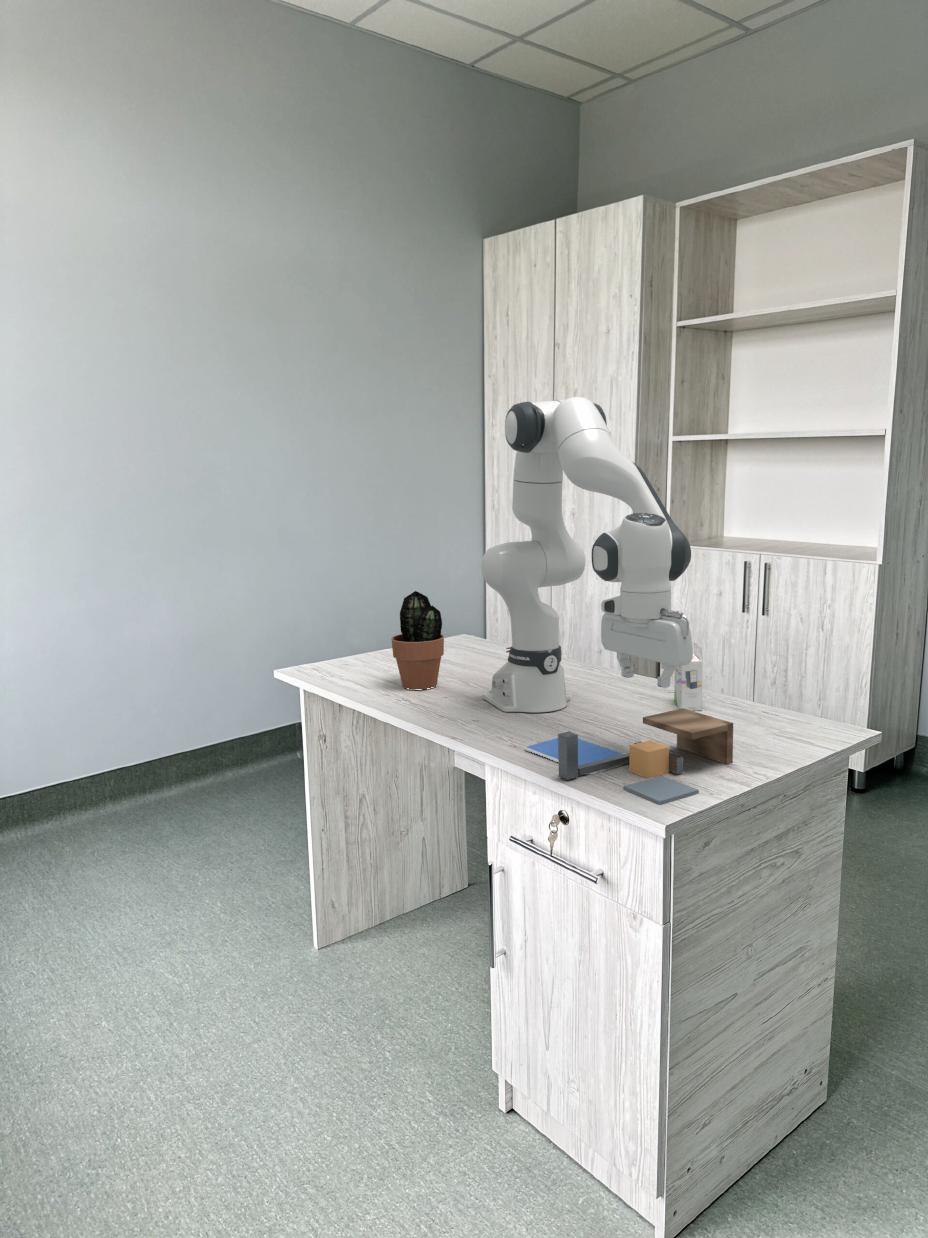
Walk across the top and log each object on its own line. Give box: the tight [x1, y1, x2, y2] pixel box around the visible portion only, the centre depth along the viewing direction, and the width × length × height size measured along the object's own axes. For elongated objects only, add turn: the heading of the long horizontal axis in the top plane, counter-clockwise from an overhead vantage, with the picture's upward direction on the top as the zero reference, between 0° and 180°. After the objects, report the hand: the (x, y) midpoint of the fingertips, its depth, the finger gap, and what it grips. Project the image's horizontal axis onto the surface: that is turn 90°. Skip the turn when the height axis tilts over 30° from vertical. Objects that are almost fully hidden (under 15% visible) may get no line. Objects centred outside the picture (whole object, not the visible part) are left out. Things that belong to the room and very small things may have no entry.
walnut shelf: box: [642, 708, 734, 765], centre depth 171 cm, size 13×10×8 cm
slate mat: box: [622, 775, 700, 806], centre depth 155 cm, size 9×9×1 cm
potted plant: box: [391, 590, 445, 689], centre depth 233 cm, size 14×14×25 cm
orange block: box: [628, 739, 670, 779], centre depth 165 cm, size 5×5×5 cm
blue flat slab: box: [524, 737, 629, 775], centre depth 176 cm, size 19×13×1 cm, turn 36°
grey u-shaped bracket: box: [557, 730, 684, 781], centre depth 163 cm, size 12×19×8 cm, turn 121°
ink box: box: [673, 640, 703, 712], centre depth 207 cm, size 9×5×15 cm, turn 178°
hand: (645, 681), depth 162 cm, fingers open, 8 cm apart
